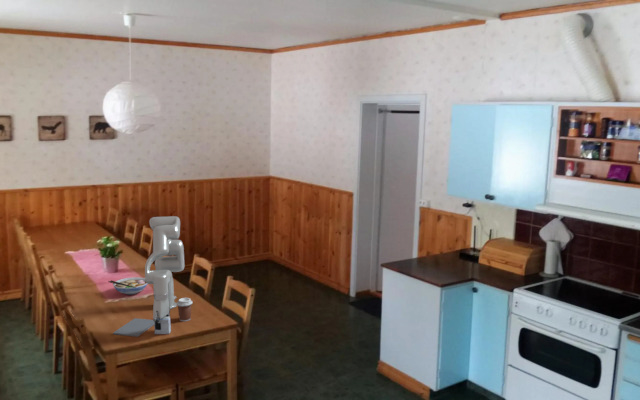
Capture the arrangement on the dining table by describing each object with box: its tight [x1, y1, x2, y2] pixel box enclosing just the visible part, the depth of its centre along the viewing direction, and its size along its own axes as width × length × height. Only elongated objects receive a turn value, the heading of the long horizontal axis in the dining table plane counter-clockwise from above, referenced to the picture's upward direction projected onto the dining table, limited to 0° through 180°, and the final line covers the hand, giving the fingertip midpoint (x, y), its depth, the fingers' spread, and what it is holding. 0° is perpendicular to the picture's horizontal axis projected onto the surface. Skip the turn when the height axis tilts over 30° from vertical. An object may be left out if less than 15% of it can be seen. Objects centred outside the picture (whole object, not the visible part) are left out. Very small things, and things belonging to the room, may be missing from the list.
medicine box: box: [153, 316, 172, 335], centre depth 311 cm, size 8×4×9 cm, turn 92°
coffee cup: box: [176, 297, 193, 322], centre depth 330 cm, size 9×9×12 cm
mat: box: [112, 317, 154, 337], centre depth 318 cm, size 22×15×1 cm
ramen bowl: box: [108, 276, 148, 296], centre depth 377 cm, size 25×23×8 cm
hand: (162, 326), depth 311 cm, fingers open, 9 cm apart
